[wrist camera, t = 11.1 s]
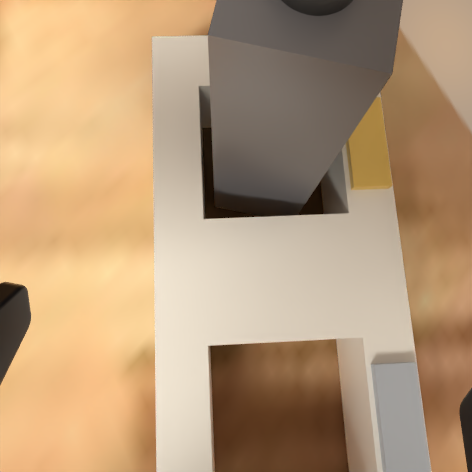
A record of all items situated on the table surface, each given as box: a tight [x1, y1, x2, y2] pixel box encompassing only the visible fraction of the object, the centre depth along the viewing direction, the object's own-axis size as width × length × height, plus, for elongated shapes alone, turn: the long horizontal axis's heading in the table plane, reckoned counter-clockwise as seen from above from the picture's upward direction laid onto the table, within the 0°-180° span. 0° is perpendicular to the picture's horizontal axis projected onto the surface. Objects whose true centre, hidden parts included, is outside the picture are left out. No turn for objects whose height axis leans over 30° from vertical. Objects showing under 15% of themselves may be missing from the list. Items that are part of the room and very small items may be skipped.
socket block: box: [152, 35, 431, 472], centre depth 19 cm, size 22×10×4 cm, turn 3°
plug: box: [208, 0, 403, 217], centre depth 15 cm, size 4×4×14 cm
